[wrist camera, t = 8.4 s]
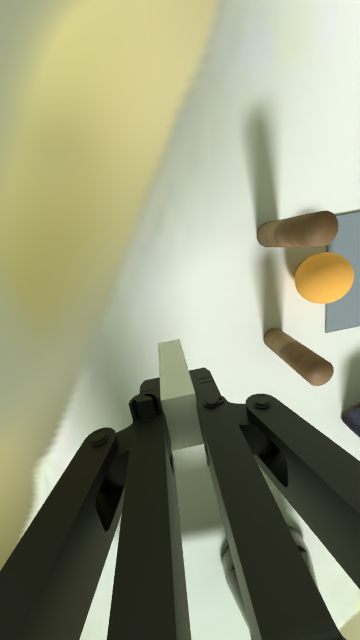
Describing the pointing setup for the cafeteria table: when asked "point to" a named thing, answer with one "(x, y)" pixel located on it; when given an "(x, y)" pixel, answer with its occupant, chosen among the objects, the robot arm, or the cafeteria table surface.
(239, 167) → the cafeteria table surface
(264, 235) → the post
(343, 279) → the ball
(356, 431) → the flask
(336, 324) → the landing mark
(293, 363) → the post
